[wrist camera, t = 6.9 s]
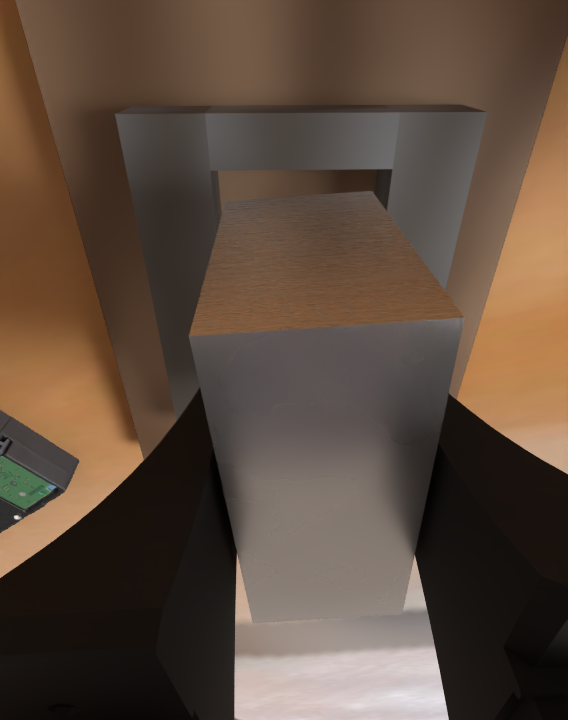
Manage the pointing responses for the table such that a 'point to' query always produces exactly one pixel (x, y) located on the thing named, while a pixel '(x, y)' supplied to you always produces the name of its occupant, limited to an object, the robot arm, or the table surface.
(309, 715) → the table surface
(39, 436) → the disk drive
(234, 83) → the slot stand
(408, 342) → the gray rectangular block
